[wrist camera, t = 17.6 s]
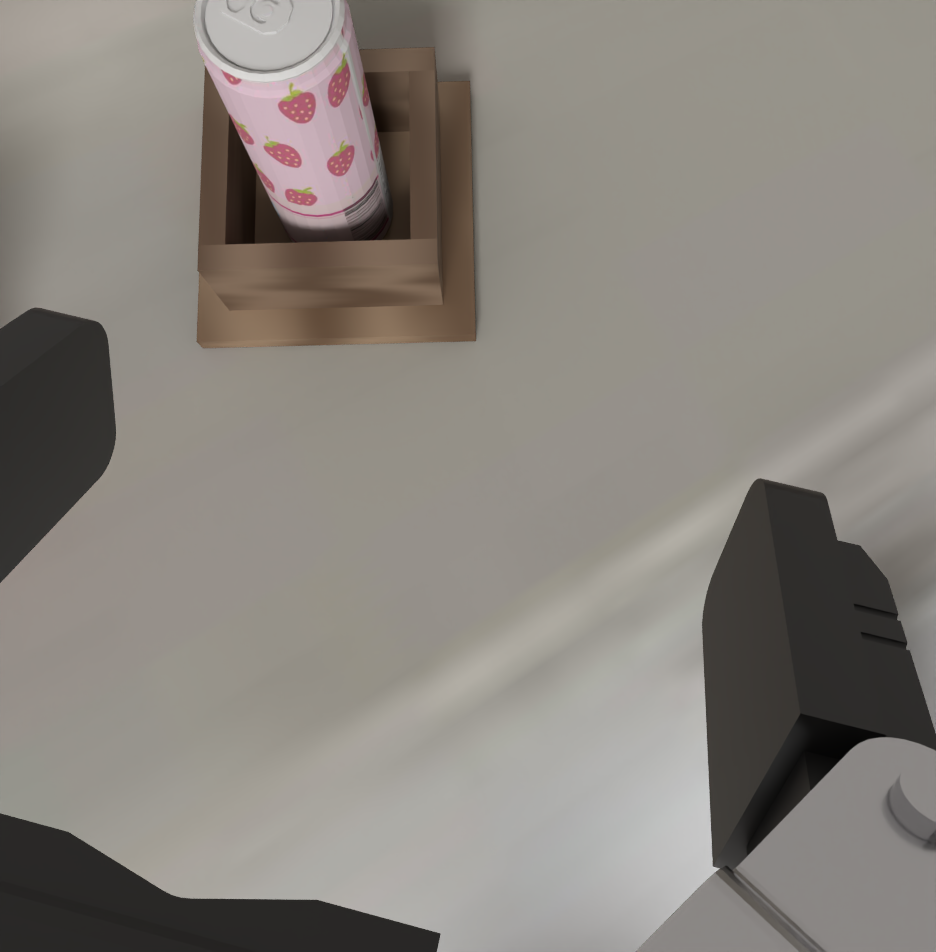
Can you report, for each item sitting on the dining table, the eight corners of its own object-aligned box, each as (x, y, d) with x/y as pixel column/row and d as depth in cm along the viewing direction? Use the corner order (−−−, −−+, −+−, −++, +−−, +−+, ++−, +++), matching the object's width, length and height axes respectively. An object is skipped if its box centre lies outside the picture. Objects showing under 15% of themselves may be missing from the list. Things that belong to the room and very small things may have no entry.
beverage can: (290, 159, 46) (198, -67, 31) (399, 166, 46) (357, -58, 31) (277, 261, 45) (174, 76, 30) (388, 268, 45) (339, 87, 30)
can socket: (470, 92, 48) (467, 15, 42) (475, 341, 45) (473, 296, 39) (211, 100, 48) (173, 25, 42) (203, 347, 46) (160, 305, 40)
